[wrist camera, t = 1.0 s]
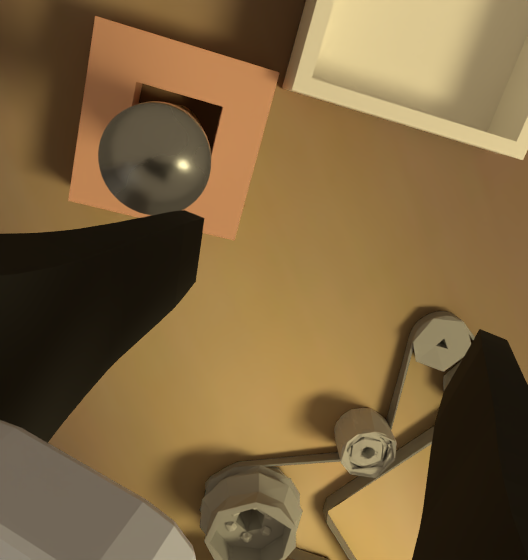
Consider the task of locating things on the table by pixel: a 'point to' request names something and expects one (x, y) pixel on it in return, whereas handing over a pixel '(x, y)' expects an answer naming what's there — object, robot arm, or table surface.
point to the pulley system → (351, 452)
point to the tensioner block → (185, 81)
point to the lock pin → (155, 157)
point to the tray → (421, 65)
